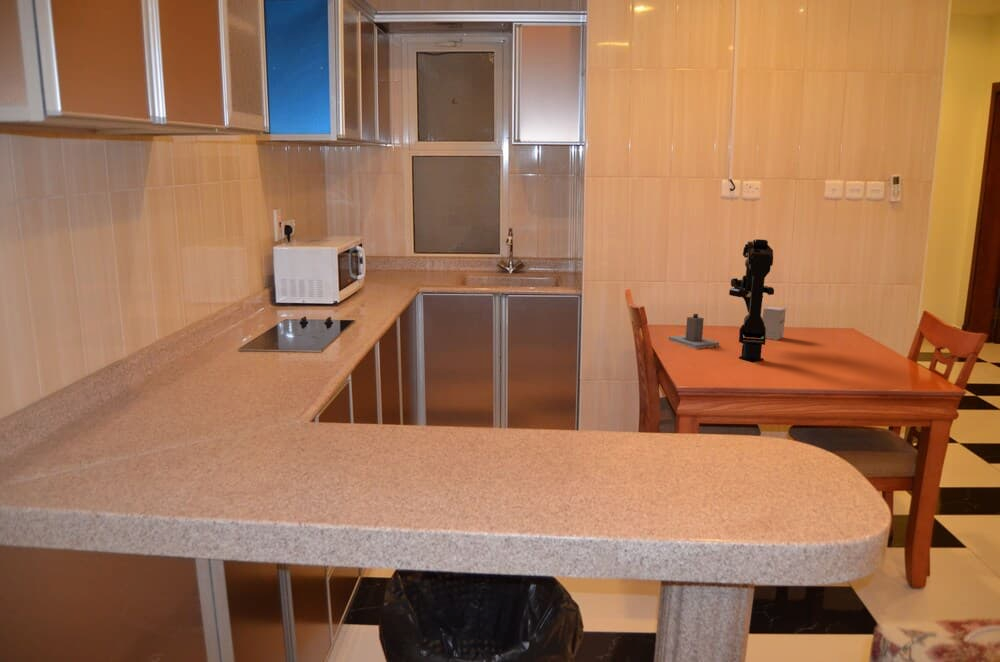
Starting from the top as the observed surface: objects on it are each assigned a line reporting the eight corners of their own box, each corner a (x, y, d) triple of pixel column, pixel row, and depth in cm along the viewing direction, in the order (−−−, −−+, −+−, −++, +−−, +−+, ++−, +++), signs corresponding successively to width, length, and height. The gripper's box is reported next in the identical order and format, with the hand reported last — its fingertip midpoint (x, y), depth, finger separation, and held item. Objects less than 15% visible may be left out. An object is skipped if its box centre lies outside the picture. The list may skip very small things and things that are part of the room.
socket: (718, 346, 308) (719, 342, 308) (695, 348, 303) (695, 345, 302) (691, 337, 322) (691, 334, 322) (668, 340, 316) (668, 336, 316)
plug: (701, 342, 312) (703, 314, 309) (693, 344, 309) (695, 315, 307) (693, 340, 315) (695, 312, 313) (685, 341, 313) (687, 313, 310)
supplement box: (777, 340, 320) (780, 310, 318) (759, 337, 325) (762, 308, 322) (783, 337, 326) (786, 307, 323) (766, 335, 331) (768, 305, 328)
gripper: (755, 269, 316) (752, 307, 320) (720, 272, 308) (717, 311, 311) (776, 273, 307) (772, 312, 310) (741, 275, 298) (737, 316, 301)
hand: (749, 312), depth 308 cm, fingers closed
